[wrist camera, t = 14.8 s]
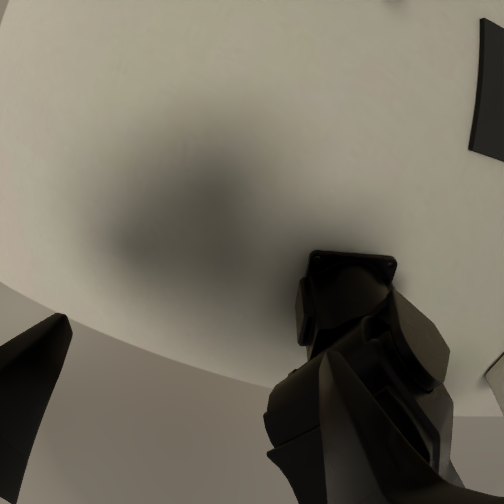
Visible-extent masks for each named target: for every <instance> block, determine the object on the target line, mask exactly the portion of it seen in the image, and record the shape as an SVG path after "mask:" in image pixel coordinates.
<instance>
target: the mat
mask: <svg viewBox="0 0 504 504" xmlns="http://www.w3.org/2000/svg"><path fill="white" fill-rule="evenodd" d="M469 149H470V150H472V151H475V152H478V153H481V154H484V155H487V156H490V157H493V158H496V159H498V160H501V161H504V28H502V27H500V26H498V25H497V24H495V23H493V22H491V21H489V20H488V19H486V18H481V19H480V62H479V76H478V87H477V97H476V105H475V113H474V120H473V126H472V132H471V138H470V144H469Z"/></svg>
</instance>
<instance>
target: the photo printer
mask: <svg viewBox="0 0 504 504" xmlns="http://www.w3.org/2000/svg"><path fill="white" fill-rule="evenodd" d="M486 379H487V381H488V383H489V385H490V387H491V389H492V391H493V394H494V396H495V398H496V400H497V402H498V404H499V406H500V408H501V411H502V413H503V415H504V355H503V356H502V357H501V358H500V360H499V361H498V362H497V363H496V364H495V365H494V366H493V367H492V368H491V369H490V370H489V371H488V373H487V374H486Z"/></svg>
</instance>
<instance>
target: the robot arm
mask: <svg viewBox="0 0 504 504" xmlns="http://www.w3.org/2000/svg"><path fill="white" fill-rule="evenodd" d="M316 256H318V257H320V258H319V259H318V260H314V257H316ZM389 263H392V265H390V266H388V264H389ZM396 268H397V262H396V260H395V259H394V258H393V257H388V256H377V255H366V254H355V253H343V252H332V251H320V250H315V251H313V252H311V253H310V255H309V260H308V266H307V271H306V277H303V278H301V279H300V281H299V287H298V292H297V298H296V304H295V313H296V326H297V341H298V344H299V345H300V346H306V347H307V358H308V362H307V363H305V364H304V365H302V366H301V367H300V368H298V369H295V370H293V371H292V372H290V373H289V374H288V377H287V378H286V379H284V380H283V381H281V382H280V383H278V384H277V385H276V386H275V387H274V389H273V390H272V392H271V394H270V395H269V401H268V407H267V412H265V413H264V415H263V418H264V423H265V428H266V431H267V434H268V436H269V439H270V441H271V443H272V445H273V446H274V449H272V450H270V451H268V452H267V457H268V458H269V459H270V460H271V461H272V462H273V463H275V464H276V465H277V466H278V467H279V468H280V470H281V471H282V472H283V474H284V475H285V476H286V478H287V479H288V481H289V483H290V485H291V487H292V489H293V491H294V494H295V496H296V498H297V500H298V503H299V504H504V497H498V496H493V495H488V494H485V493H481V492H477V491H473V490H470V489H466V488H465V486H464V485H463V483H462V481H461V479H460V477H459V475H458V474H457V472H456V470H455V468H454V467H453V465H452V463H451V460H450V451H451V440H452V427H453V426H452V425H453V401H452V399H451V397H450V395H449V394H448V392H447V390H446V388H445V386H444V385H443V382H444V380H445V376H446V371H447V366H448V361H449V355H450V349H449V347H448V346H447V344H446V342H445V341H444V339H443V337H442V336H441V334H440V333H439V331H438V329H437V328H436V326H435V325H434V324H433V322H431V321H430V320H429V319H428V318H427V317H426V316H425V315H424V314H423V313H421V312H420V311H419V310H418V309H417V308H416V307H415V306H414V305H412V304H411V303H410V302H409V301H408V300H407V299H406V298H404V297H403V296H402V295H401V294H400V293H399V292H398V291H396V290H395V288H394V286H393V284H392V280H393V277H394V274H395V271H396ZM72 334H73V333H72V329H71V326H70V323H69V320H68V317H67V316H66V315H65V314H61V313H55V314H53V315H51V316H50V317H48V318H46V319H45V320H43V321H41V322H40V323H38V324H36V325H35V326H33V327H31V328H29V329H28V330H26V331H25V332H23V333H21V334H20V335H18V336H16V337H15V338H13V339H11V340H10V341H8V342H7V343H5V344H4V345H2V346H0V497H1V498H3V499H5V500H6V501H8V502H10V503H11V504H16V503H17V499H18V495H19V491H20V488H21V484H22V480H23V476H24V473H25V469H26V466H27V463H28V459H29V456H30V452H31V450H32V446H33V443H34V440H35V438H36V435H37V432H38V429H39V426H40V423H41V420H42V418H43V415H44V412H45V410H46V407H47V405H48V402H49V399H50V397H51V394H52V392H53V389H54V387H55V384H56V382H57V380H58V377H59V375H60V372H61V370H62V367H63V364H64V360H65V357H66V354H67V351H68V348H69V345H70V342H71V339H72Z"/></svg>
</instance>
